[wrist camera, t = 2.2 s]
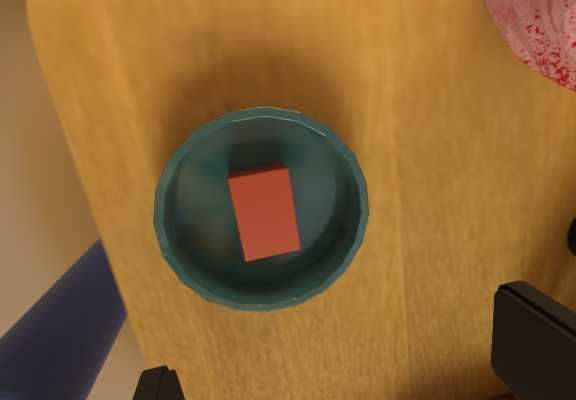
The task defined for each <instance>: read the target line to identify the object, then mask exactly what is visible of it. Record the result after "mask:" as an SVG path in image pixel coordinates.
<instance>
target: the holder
mask: <svg viewBox="0 0 576 400" xmlns="http://www.w3.org/2000/svg"><path fill="white" fill-rule="evenodd" d="M487 400H519V399H518V398H517V397H516V396H515V395H514V394H513V393H512V392H511V393H508V394H504V395H501V396H497V397H494V398H490V399H487Z"/></svg>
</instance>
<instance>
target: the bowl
mask: <svg viewBox="0 0 576 400" xmlns="http://www.w3.org/2000/svg"><path fill="white" fill-rule="evenodd" d="M281 162H283V163H284V164H285V166H286V167H287V168H288V170H289V177H290V183H291V189H292V196H293V202H294V209H295V215H296V222H297V228H298V235H299V241H300V247H301V249H300V250H296V251H292V252H287V253H282V254H278V255H273V256H268V257H264V258H259V259H255V260H250V261H245V257H244V252H243V248H242V243H241V238H240V234H239V229H238V225H237V220H236V215H235V211H234V206H233V201H232V197H231V192H230V187H229V183H228V172H232V171H238V170H243V169H249V168H254V167H259V166H265V165H270V164H276V163H281ZM368 216H369V207H368V194H367V183H366V180H365V177H364V175H363V173H362V170H361V168H360V166H359V163H358V161H357V159H356V157H355V154H354V153H353V152H352V151H351V149H350V148H349V147H348V146H347V145H346V144H345V143H344V142H343V141H342V140H341V138H340V137H339V136H338V135H337V134H336V133H335V132H334V131H333V130H332V129H331V128H329V127H328V126H326V125H324V124H322V123H320V122H318V121H316V120H315V119H313V118H311V117H309V116H307V115H305V114H304V113H301V112H297V111H291V110H285V109H279V108H273V107H268V106H258V107H252V108H245V109H239V110H233V111H229V112H226V113H224V114H222V115H221V116H219V117H217V118H215V119H213V120H211V121H209V122H207V123H205V124H204V125H202V126H200V127H198V128H197V129H196V130H194V131H193V132H192V133H191V134H190V136H189V137H188V138H187V139H186V140H185V141H184V142H183V143H182V144H181V145H180V146H179V147H178V148H177V150H176V151H175V152H174V153H173V154H172V155H171V156H170V158H169V159H168V162H167V164H166V166H165V169H164V171H163V173H162V176H161V178H160V180H159V182H158V185H157V187H156V191H155V203H154V221H153V224H154V229H155V232H156V235H157V239H158V242H159V245H160V249H161V252H162V255H163V257H164V259H165V260H166V261H167V263H168V264H169V265H170V267H171V268H172V270H173V271H174V272H175V274H176V275H177V276H178V278H179V279H180V281H181V282H182V283H183V284H185V285H186V286H187V287H189V288H190V289H192V290H193V291H194V292H196V293H197V294H199V295H200V296H201V297H203V298H204V299H206V300H207V301H210V302H213V303H216V304H219V305H222V306H225V307H228V308H231V309H234V310H238V311H256V312H268V311H269V312H271V311H275V310H279V309H283V308H287V307H292V306H296V305H298V304H301V303H303V302H305V301H306V300H308V299H310V298H312V297H314V296H316V295H317V294H319V293H321V292H323V291H325V290H326V289H327V288H328V287H329V286H330V285H331V284H332V283H333V282H334V281H335V280H337V279H338V278H339V277H340V276H341V275H342V274H343V273H344V272H345V271H346V270H347V268H348V267H349V265H350V263H351V262H352V260H353V258H354V256H355V255H356V253H357V251H358V249H359V248H360V246H361V244H362V242H363V238H364V233H365V229H366V225H367V220H368Z"/></svg>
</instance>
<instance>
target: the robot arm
mask: <svg viewBox="0 0 576 400" xmlns="http://www.w3.org/2000/svg"><path fill="white" fill-rule="evenodd" d="M491 365H492V368H493V370H494V372H495V374H496V375H497V376H498V377H499V378H500V379H501V380H502V381H503V382H504V383H505V384H506V385H507V386H508V388H509V389H510V390H511V391H512V392H513V393H514V394H515V395H516V396H517V397H518V398H519V399H520V400H576V313H575V312H573V311H571V310H570V309H568V308H567V307H565V306H563V305H562V304H560V303H558V302H557V301H555V300H554V299H552V298H550V297H549V296H547V295H545V294H544V293H542V292H540V291H539V290H537V289H536V288H534V287H532V286H531V285H529V284H527V283H526V282H524V281H515V282H511V283H506V284H502V285H500V286H499V287H498V291H497V292H496V293H495V296H494V314H493V332H492V351H491ZM133 400H185V398H184V395H183V392H182V389H181V386H180V382H179V379H178V376H177V373H176V371H175V370H169V369H168V367H167V366H161V367H157V368H152V369H148V370H144V371H143V372H142V374H141V376H140V379H139V382H138V385H137V388H136V391H135V393H134V397H133Z"/></svg>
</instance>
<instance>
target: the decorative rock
mask: <svg viewBox="0 0 576 400" xmlns="http://www.w3.org/2000/svg"><path fill="white" fill-rule="evenodd" d="M484 3H485V5H486V7H487V9H488V10H489V12H490V14H491V17H492V19H493V20H494V22H495V24H496V26H497V28H498V30H499V31H500V33H501V35H502V37H503V38H504V40H505V42H506V43H507V45H508V46H509V48H510V49H511V51H512V52H513V53H514V55H515V56H516V57H517V58H518V59H519V60H521V61H522V62H523V63H524V64H526V65H527V66H528V67H530V68H531V69H533V70H534V71H536V72H537V73H539V74H541V75H543V76H545V77H547V78H549V79H551V80H554V81H555V82H556V83H557V84H559V85H561V86H563V87H566V88H568V89H570V90H572V91H575V92H576V0H484Z"/></svg>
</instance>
